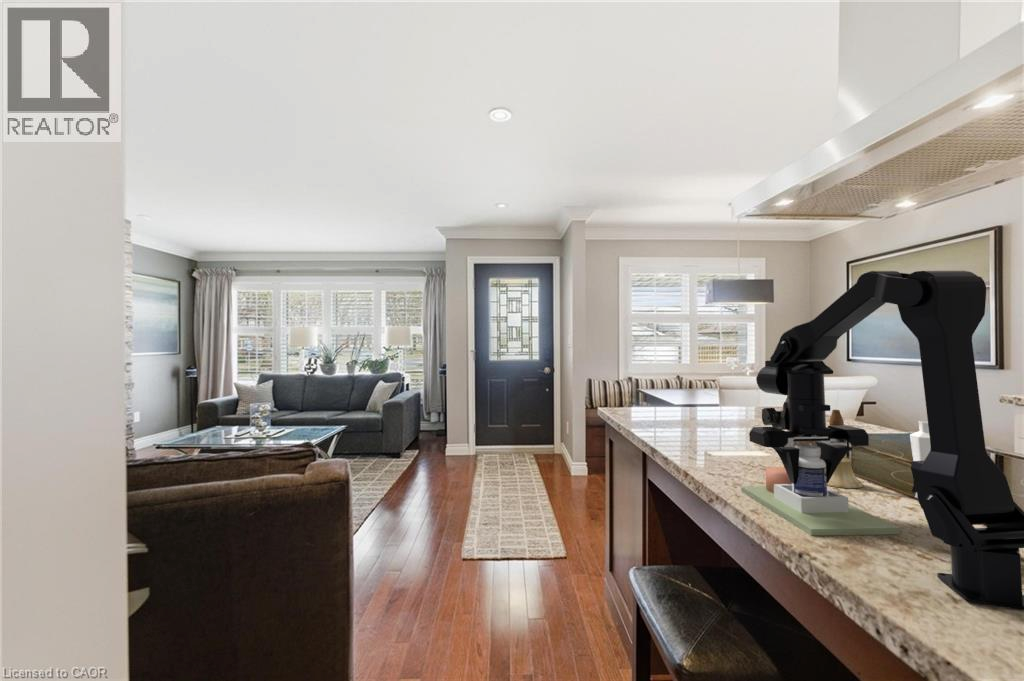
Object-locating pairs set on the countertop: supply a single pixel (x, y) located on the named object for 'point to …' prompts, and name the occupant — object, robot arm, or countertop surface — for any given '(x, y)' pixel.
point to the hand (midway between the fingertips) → (809, 483)
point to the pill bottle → (810, 473)
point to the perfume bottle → (920, 443)
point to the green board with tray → (815, 509)
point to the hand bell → (842, 463)
